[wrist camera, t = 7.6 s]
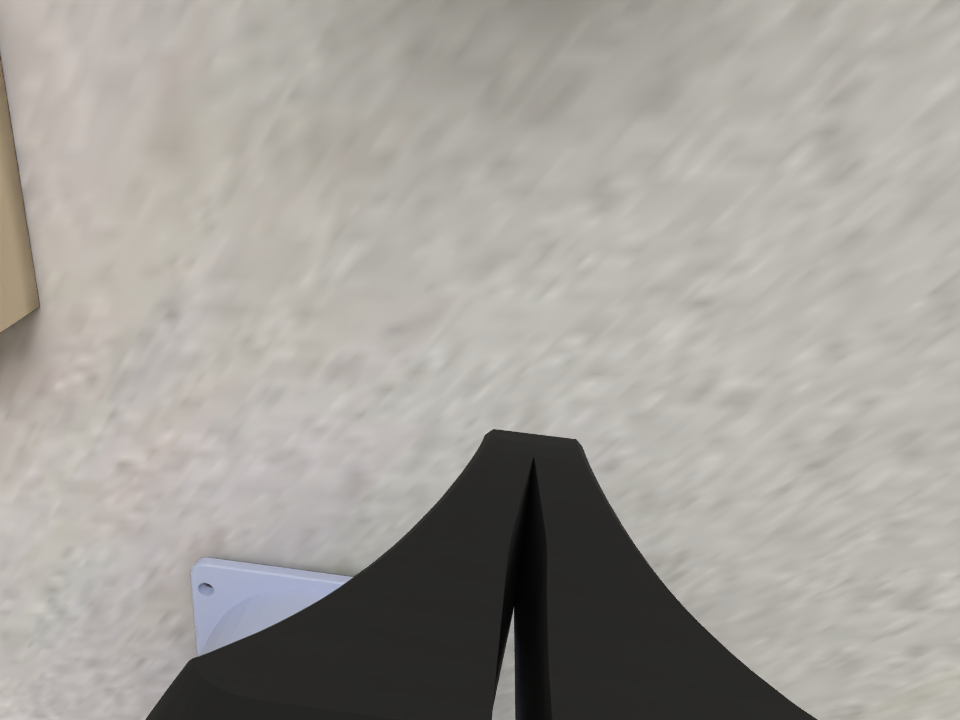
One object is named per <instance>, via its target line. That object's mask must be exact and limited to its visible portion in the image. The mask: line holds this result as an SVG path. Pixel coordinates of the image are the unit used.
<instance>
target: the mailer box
mask: <svg viewBox="0 0 960 720" xmlns="http://www.w3.org/2000/svg"><path fill="white" fill-rule="evenodd" d="M39 306H40V305H39V299H38V293H37V286H36V280H35V274H34V267H33V261H32V255H31V248H30V242H29V236H28V229H27V223H26V217H25V210H24V204H23V198H22V191H21V185H20V179H19V172H18V166H17V159H16V153H15V147H14V140H13V134H12V128H11V121H10V115H9V109H8V102H7V96H6V90H5V83H4V77H3V71H2V64H1V58H0V332H2V331H3V330H5V329H6V328H8V327H9V326H11V325H12V324H14V323H15V322H17V321H18V320H20V319H21V318H23V317H24V316H26V315H27V314H29V313H30V312H32V311H33V310H35V309H36V308H38V307H39Z"/></svg>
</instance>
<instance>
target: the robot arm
mask: <svg viewBox="0 0 960 720" xmlns="http://www.w3.org/2000/svg"><path fill="white" fill-rule="evenodd" d="M190 577H191V588H192V600H193V612H194V623H195V635H196V647H197V657H196V658H193V659H191V660H190V661H189V662H188V663H187V664H186V666H185V667H184V668H183V670H182V671H181V672H180V673H179V675H178V676H177V677H176V679H175V680H174V681H173V683H172V684H171V685H170V687H169V688H168V689H167V691H166V692H165V693H164V695H163V696H162V698H161V699H160V700H159V702H158V703H157V704H156V706H155V707H154V708H153V710H152V711H151V712H150V714H149V715H148V717H147V718H146V720H492V710H493V705H494V700H495V695H496V690H497V685H498V681H499V676H500V671H501V666H502V662H503V657H504V652H505V647H506V643H507V638H508V633H509V628H510V623H511V619H512V614H513V609H514V641H515V717H516V720H817V719H816V718H814V717H813V716H811V715H810V714H808V713H807V712H805V711H804V710H802V709H801V708H799V707H798V706H796V705H795V704H794V703H792V702H791V701H790V700H788V699H787V698H786V697H784V696H783V695H782V694H781V693H779V692H778V691H777V690H775V689H774V688H773V687H772V686H770V685H769V684H768V683H767V682H765V681H764V680H763V679H761V678H760V677H759V676H758V675H756V674H755V673H754V672H753V671H751V670H750V669H749V668H748V667H747V666H746V665H744V664H743V663H742V662H741V661H740V660H739V659H737V658H736V657H735V656H734V655H733V654H732V653H730V652H729V651H728V650H727V649H726V648H725V647H724V646H723V645H722V644H721V643H720V642H719V641H718V640H717V639H716V638H714V637H713V636H712V635H711V634H710V633H709V632H708V631H707V630H706V629H705V628H704V627H703V626H702V625H701V624H700V623H699V622H698V621H697V620H696V619H695V618H694V617H693V616H692V615H691V614H690V613H689V612H688V611H687V610H686V609H685V608H684V607H683V606H682V605H681V603H680V602H679V601H678V600H677V599H676V598H675V597H674V595H673V594H672V593H671V592H670V591H669V590H668V588H667V587H666V586H665V585H664V583H663V582H662V581H661V580H660V578H659V577H658V576H657V575H656V573H655V572H654V571H653V569H652V568H651V567H650V565H649V564H648V563H647V561H646V560H645V558H644V557H643V556H642V554H641V553H640V551H639V550H638V548H637V547H636V546H635V544H634V543H633V541H632V540H631V538H630V537H629V535H628V534H627V532H626V530H625V529H624V527H623V526H622V524H621V522H620V521H619V519H618V517H617V516H616V514H615V512H614V511H613V509H612V507H611V506H610V504H609V502H608V500H607V499H606V497H605V495H604V493H603V491H602V489H601V487H600V485H599V483H598V481H597V479H596V477H595V475H594V473H593V471H592V469H591V467H590V465H589V462H588V460H587V458H586V455H585V453H584V450H583V447H582V446H581V445H580V443H579V442H578V441H577V440H576V439H569V438H561V437H553V436H545V435H537V434H529V433H520V432H512V431H504V430H496V429H493V430H492V431H490V432H489V433H487V434H486V435H485V436H484V439H483V441H482V443H481V445H480V447H479V448H478V450H477V452H476V453H475V455H474V456H473V458H472V459H471V461H470V462H469V463H468V465H467V466H466V468H465V469H464V470H463V472H462V473H461V474H460V476H459V477H458V478H457V479H456V481H455V482H454V483H453V484H452V486H451V487H450V488H449V489H448V490H447V492H446V493H445V494H444V495H443V497H442V498H441V499H440V500H439V501H438V502H437V503H436V504H435V505H434V506H433V508H432V509H431V510H430V511H429V512H428V513H427V514H426V515H425V516H424V517H423V518H422V519H421V520H420V521H419V522H418V523H417V524H416V525H415V526H414V527H413V528H412V529H411V530H410V531H409V532H408V533H407V534H406V535H405V536H404V537H403V538H402V539H400V540H399V541H398V542H397V543H396V544H395V545H394V546H393V547H391V548H390V549H389V550H388V551H387V552H386V553H384V554H383V555H382V556H381V557H379V558H378V559H377V560H376V561H375V562H373V563H372V564H371V565H370V566H368V567H367V568H365V569H364V570H363V571H361V572H360V573H359V574H357V575H356V576H354V577H350V576H342V575H335V574H327V573H320V572H312V571H305V570H297V569H290V568H282V567H275V566H267V565H260V564H252V563H245V562H237V561H230V560H222V559H215V558H201V559H199V560H197V561H196V563H195V564H194V566H193V567H192V569H191V573H190ZM204 583H207V584H210V585H211V586H212V587H213V588H211V587H208V586H206V585H205V584H204Z"/></svg>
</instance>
